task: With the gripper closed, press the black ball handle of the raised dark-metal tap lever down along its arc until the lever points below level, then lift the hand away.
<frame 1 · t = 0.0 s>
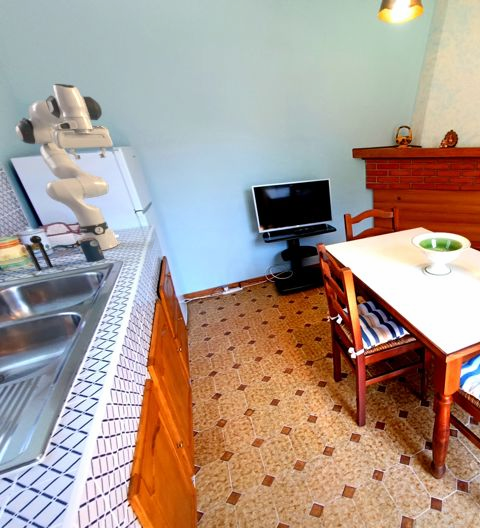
hand: (91, 158, 138), 48 cm above the counter, tool pointing down, fingers open, 8 cm apart
lever: (35, 243, 135), point 14 cm above the counter, hinge at 28.0°
bracket: (46, 270, 142), on the counter
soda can: (97, 262, 150), on the counter
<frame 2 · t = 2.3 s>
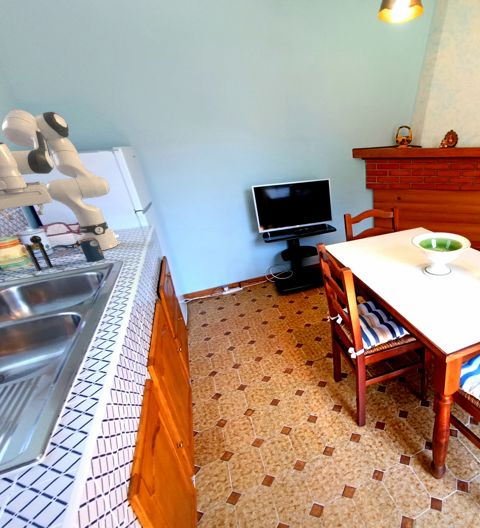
hand: (26, 217, 128), 27 cm above the counter, tool pointing down, fingers open, 8 cm apart
nothing on the counter moved.
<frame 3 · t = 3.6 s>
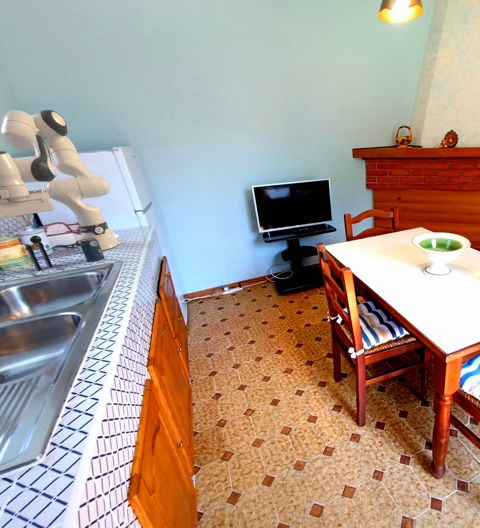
hand: (28, 225, 129), 23 cm above the counter, tool pointing down, fingers closed
nothing on the counter moved.
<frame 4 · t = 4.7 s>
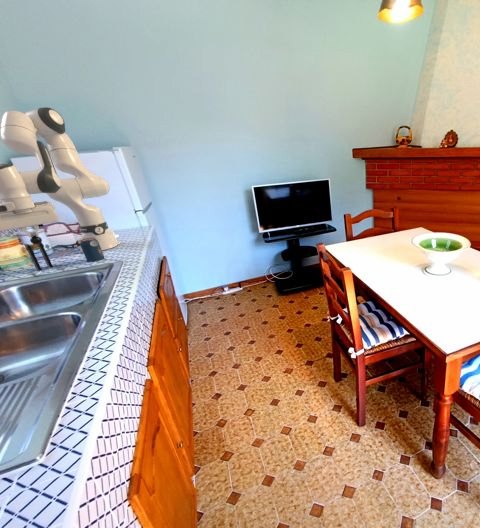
hand: (33, 236, 131), 18 cm above the counter, tool pointing down, fingers closed, pressing on lever
lever: (35, 243, 135), point 14 cm above the counter, hinge at 26.3°, touching gripper
everything else where it was.
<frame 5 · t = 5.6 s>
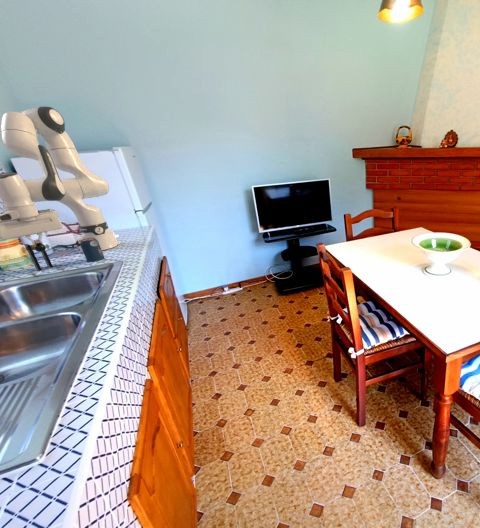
hand: (37, 243, 132), 15 cm above the counter, tool pointing down, fingers closed
lever: (37, 247, 135), point 13 cm above the counter, hinge at 6.0°, touching gripper
everything else where it was.
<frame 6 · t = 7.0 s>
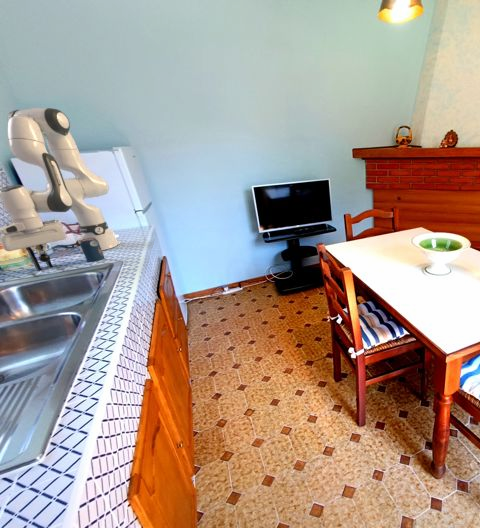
hand: (42, 254, 134), 10 cm above the counter, tool pointing down, fingers closed, pressing on lever
lever: (39, 252, 136), point 10 cm above the counter, hinge at -23.8°, touching gripper
everything else where it was.
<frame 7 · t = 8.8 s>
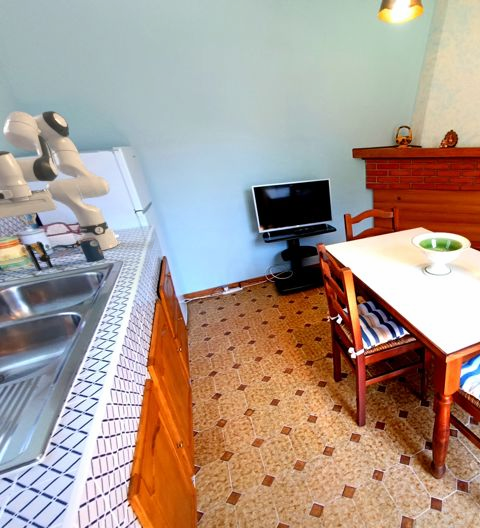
hand: (31, 224, 131), 23 cm above the counter, tool pointing down, fingers closed
lever: (39, 252, 136), point 10 cm above the counter, hinge at -24.3°
everything else where it was.
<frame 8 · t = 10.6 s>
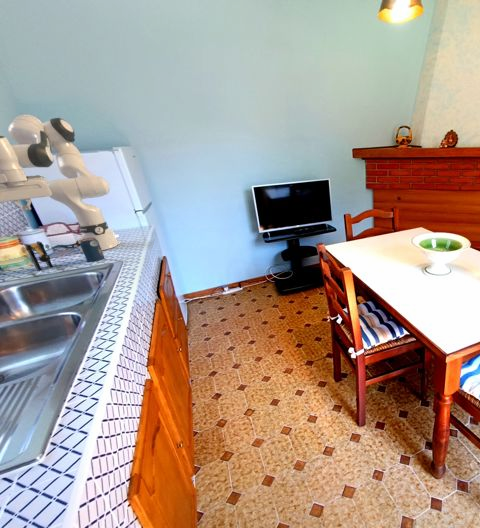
hand: (26, 210, 130), 29 cm above the counter, tool pointing down, fingers closed
nothing on the counter moved.
at the end: lever at -24° (first picture: +28°); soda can moved 0.2 cm from its start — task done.
